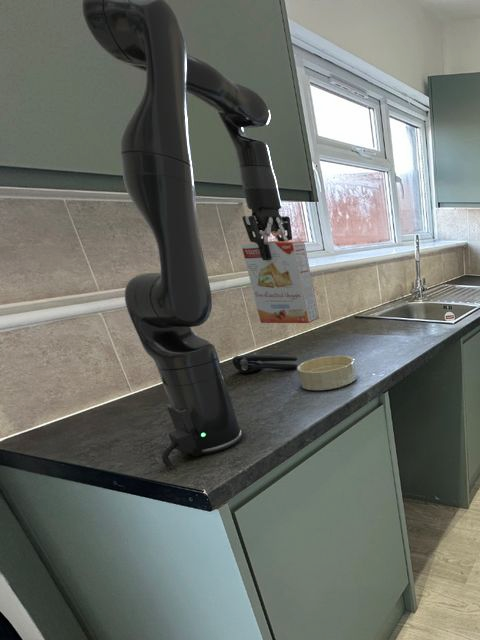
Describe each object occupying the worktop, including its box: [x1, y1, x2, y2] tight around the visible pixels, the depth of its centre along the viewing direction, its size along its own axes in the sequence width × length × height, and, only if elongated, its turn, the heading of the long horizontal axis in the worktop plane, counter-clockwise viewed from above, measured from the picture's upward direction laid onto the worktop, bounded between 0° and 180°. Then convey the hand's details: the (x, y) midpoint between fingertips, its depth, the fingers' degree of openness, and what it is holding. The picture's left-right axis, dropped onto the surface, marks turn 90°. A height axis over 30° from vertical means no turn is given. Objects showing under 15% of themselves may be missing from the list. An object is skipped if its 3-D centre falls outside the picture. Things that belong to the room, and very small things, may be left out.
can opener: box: [232, 352, 298, 374], centre depth 124 cm, size 18×7×6 cm, turn 98°
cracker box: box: [240, 240, 320, 324], centre depth 111 cm, size 14×6×21 cm, turn 84°
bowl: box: [296, 355, 358, 391], centre depth 113 cm, size 14×14×6 cm
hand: (276, 258), depth 108 cm, fingers closed on cracker box, 6 cm apart
